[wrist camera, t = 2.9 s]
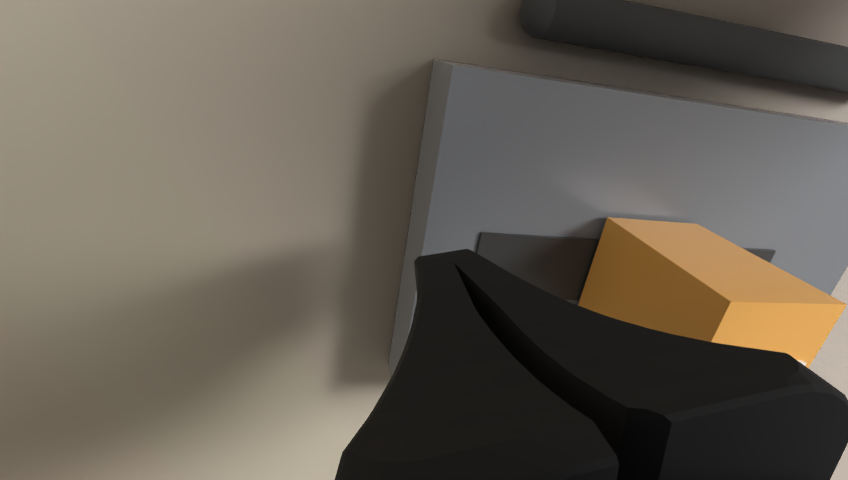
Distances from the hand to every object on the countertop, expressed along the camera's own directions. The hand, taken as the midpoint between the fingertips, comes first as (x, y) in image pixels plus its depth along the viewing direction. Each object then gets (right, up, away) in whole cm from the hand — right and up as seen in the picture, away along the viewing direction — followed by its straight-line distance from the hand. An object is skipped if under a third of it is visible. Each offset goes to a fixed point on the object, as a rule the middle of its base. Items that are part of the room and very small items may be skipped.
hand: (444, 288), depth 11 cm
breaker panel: (+6, +1, +5) cm, 8 cm away
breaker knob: (+6, 0, +3) cm, 6 cm away
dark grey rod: (+8, +7, +2) cm, 11 cm away
